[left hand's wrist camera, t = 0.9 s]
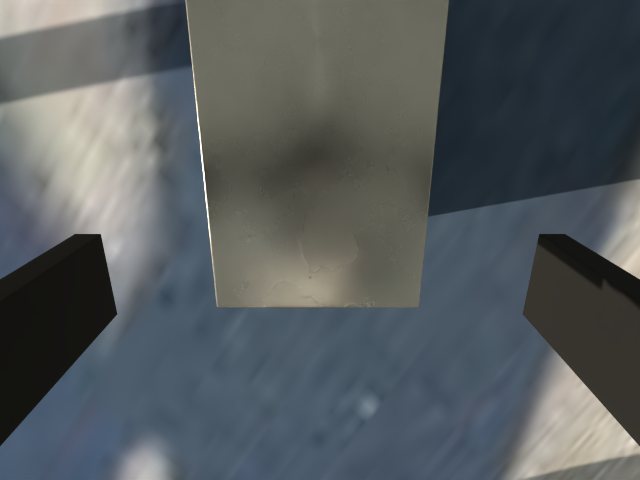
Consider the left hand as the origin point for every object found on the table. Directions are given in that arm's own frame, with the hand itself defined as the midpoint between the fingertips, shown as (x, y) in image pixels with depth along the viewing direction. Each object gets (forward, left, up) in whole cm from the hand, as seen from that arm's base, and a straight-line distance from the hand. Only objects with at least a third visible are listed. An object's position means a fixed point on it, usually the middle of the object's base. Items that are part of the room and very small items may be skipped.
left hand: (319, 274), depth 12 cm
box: (+6, +4, -15) cm, 17 cm away
